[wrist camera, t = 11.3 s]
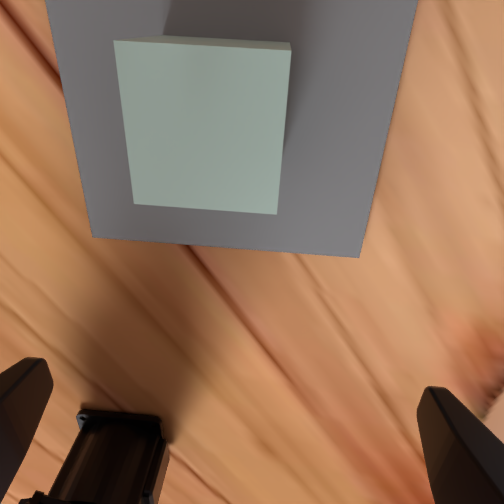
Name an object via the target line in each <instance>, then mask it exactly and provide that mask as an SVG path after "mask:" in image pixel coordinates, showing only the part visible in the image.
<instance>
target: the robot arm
mask: <svg viewBox="0 0 504 504" xmlns="http://www.w3.org/2000/svg"><path fill="white" fill-rule="evenodd" d="M52 390H53V379H52V376H51V373H50V370H49V367H48V364H47V362H46V360H45V359H43V358H36V357H27V358H24V359H22V360H21V361H19V362H18V363H16V364H15V365H13V366H11V367H10V368H8V369H7V370H5V371H4V372H2V373H1V374H0V504H1V502H2V500H3V498H4V496H5V494H6V492H7V490H8V488H9V486H10V484H11V483H12V481H13V479H14V477H15V475H16V473H17V471H18V469H19V467H20V465H21V463H22V461H23V459H24V457H25V455H26V453H27V451H28V449H29V447H30V444H31V442H32V439H33V437H34V435H35V432H36V430H37V427H38V425H39V422H40V420H41V417H42V415H43V412H44V410H45V408H46V405H47V403H48V400H49V398H50V395H51V393H52ZM76 419H77V422H78V425H79V428H80V432H79V434H78V436H77V438H76V440H75V442H74V444H73V446H72V448H71V450H70V452H69V454H68V456H67V458H66V459H65V461H64V463H63V465H62V467H61V469H60V471H59V473H58V475H57V477H56V479H55V481H54V483H53V485H52V487H51V489H50V491H49V493H48V495H45V494H44V492H41V491H37V490H36V491H35V493H34V495H33V497H32V498H28V499H21V500H20V502H19V504H158V501H159V497H160V493H161V489H162V485H163V482H164V478H165V474H166V470H167V467H168V463H169V451H168V442H167V441H166V439H164V434H163V426H162V420H161V419H160V418H158V417H154V416H143V415H133V414H122V413H112V412H102V411H91V410H80V411H79V412H78V414H77V416H76ZM417 422H418V427H419V432H420V437H421V442H422V447H423V453H424V458H425V463H426V468H427V473H428V478H429V483H430V487H431V491H432V494H433V498H434V501H435V504H504V444H503V443H502V442H501V441H500V440H499V439H498V438H497V437H496V436H495V435H494V434H493V433H492V432H491V431H490V430H489V429H488V428H487V427H486V426H485V425H484V424H483V423H482V422H481V421H480V420H479V419H478V418H477V417H476V416H475V415H474V414H473V413H472V412H471V411H470V410H469V409H468V408H467V407H465V406H464V405H463V404H462V403H461V402H460V401H459V400H458V399H457V398H456V397H455V396H454V395H453V394H452V393H451V392H450V391H449V390H448V389H446V388H444V387H436V386H428V387H426V388H425V390H424V392H423V395H422V397H421V400H420V402H419V405H418V408H417Z"/></svg>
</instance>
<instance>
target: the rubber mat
mask: <svg viewBox="0 0 504 504" xmlns="http://www.w3.org/2000/svg"><path fill="white" fill-rule="evenodd" d="M45 2H46V7H47V12H48V17H49V22H50V27H51V32H52V37H53V42H54V47H55V52H56V57H57V62H58V67H59V72H60V77H61V82H62V87H63V92H64V97H65V102H66V107H67V112H68V117H69V122H70V127H71V132H72V137H73V142H74V147H75V152H76V157H77V162H78V167H79V172H80V177H81V182H82V187H83V192H84V197H85V202H86V207H87V212H88V217H89V222H90V227H91V232H92V237H94V238H107V239H120V240H133V241H146V242H159V243H172V244H185V245H197V246H210V247H223V248H236V249H249V250H262V251H275V252H288V253H301V254H314V255H327V256H340V257H353V258H359V257H360V252H361V248H362V243H363V239H364V235H365V230H366V226H367V222H368V217H369V213H370V208H371V204H372V200H373V195H374V191H375V187H376V182H377V178H378V173H379V169H380V165H381V160H382V156H383V151H384V147H385V143H386V138H387V134H388V130H389V125H390V121H391V116H392V112H393V108H394V103H395V99H396V95H397V90H398V86H399V81H400V77H401V73H402V68H403V64H404V60H405V55H406V51H407V46H408V42H409V38H410V33H411V29H412V24H413V20H414V16H415V11H416V7H417V3H418V0H45ZM159 35H168V36H186V37H204V38H221V39H239V40H256V41H274V42H290V46H291V62H290V73H289V84H288V95H287V106H286V118H285V129H284V140H283V151H282V162H281V174H280V185H279V196H278V207H277V215H275V214H262V213H248V212H235V211H222V210H208V209H195V208H181V207H168V206H155V205H141V204H134V200H133V192H132V184H131V176H130V168H129V161H128V153H127V145H126V137H125V129H124V121H123V113H122V105H121V97H120V89H119V81H118V73H117V66H116V58H115V50H114V42H113V40H122V39H131V38H141V37H150V36H159Z"/></svg>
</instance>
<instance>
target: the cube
mask: <svg viewBox="0 0 504 504" xmlns="http://www.w3.org/2000/svg"><path fill="white" fill-rule="evenodd" d="M113 42H114V50H115V58H116V66H117V73H118V81H119V89H120V97H121V105H122V113H123V121H124V129H125V137H126V145H127V153H128V161H129V168H130V176H131V184H132V192H133V200H134V204H141V205H155V206H168V207H181V208H195V209H208V210H222V211H235V212H248V213H262V214H275V215H277V207H278V196H279V185H280V174H281V162H282V151H283V140H284V129H285V118H286V106H287V95H288V84H289V73H290V62H291V46H290V42H274V41H256V40H239V39H221V38H204V37H186V36H168V35H159V36H150V37H141V38H131V39H122V40H113Z"/></svg>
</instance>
